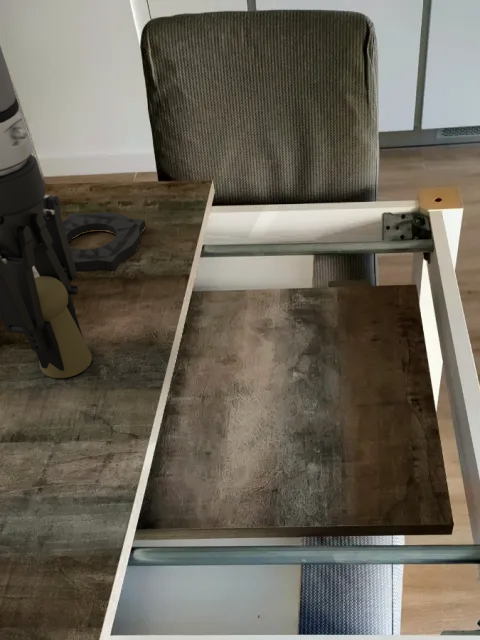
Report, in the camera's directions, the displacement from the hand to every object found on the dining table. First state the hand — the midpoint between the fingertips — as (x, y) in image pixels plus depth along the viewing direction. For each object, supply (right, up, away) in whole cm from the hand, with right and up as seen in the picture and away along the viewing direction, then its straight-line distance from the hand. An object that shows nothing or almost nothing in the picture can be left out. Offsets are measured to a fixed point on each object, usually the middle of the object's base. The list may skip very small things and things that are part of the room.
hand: (63, 354), depth 78 cm
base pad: (-3, +19, +20) cm, 27 cm away
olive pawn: (0, -1, +1) cm, 1 cm away
